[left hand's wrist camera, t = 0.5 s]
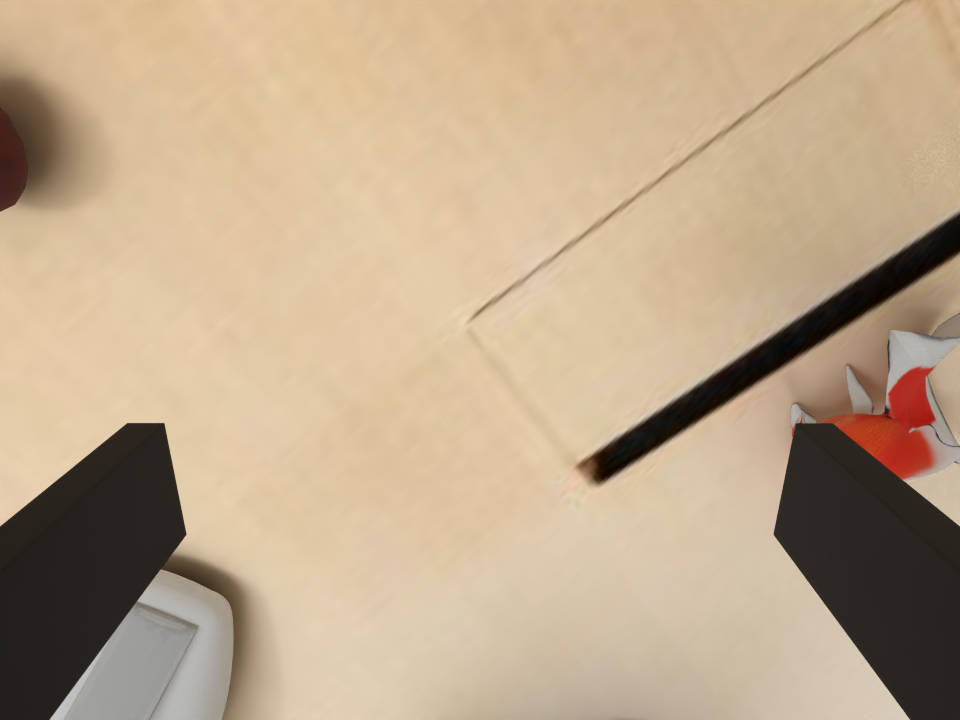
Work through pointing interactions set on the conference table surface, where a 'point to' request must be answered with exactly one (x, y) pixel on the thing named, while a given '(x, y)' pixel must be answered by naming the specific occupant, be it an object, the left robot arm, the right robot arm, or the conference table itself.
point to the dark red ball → (11, 164)
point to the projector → (161, 659)
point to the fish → (903, 407)
